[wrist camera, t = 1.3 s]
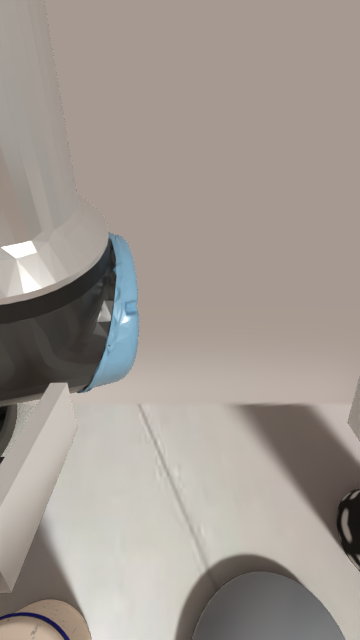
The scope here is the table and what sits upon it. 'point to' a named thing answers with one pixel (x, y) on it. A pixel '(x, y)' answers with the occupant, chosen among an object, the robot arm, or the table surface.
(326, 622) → the dish
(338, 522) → the white-spotted black cylinder
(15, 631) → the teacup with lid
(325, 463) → the table surface
